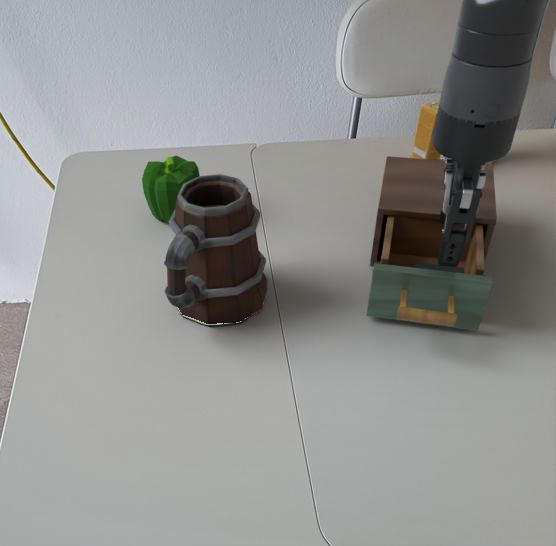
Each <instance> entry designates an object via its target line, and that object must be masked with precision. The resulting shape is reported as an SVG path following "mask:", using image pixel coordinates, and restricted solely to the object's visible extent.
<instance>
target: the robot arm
mask: <svg viewBox="0 0 556 546" xmlns="http://www.w3.org/2000/svg"><path fill="white" fill-rule="evenodd" d="M550 1H551V0H461V3H460V8H459V13H458V20H457V24H456V29H455V34H454V38H453V39H454V40H453V44H452V51H451V54H450V59H449V62H448V64H447V66H446V70H445V73H444V78H443V83H442V88H441V92H440V99H439V101H440V103H439V108H438V114H437V119H436V124H435V130H434V135H433V146H434V148H435V149H436V151H437V152H439V153H440V154H441V156H442V157H444V158H445V160H444V161H445V165H444V175H443V182H442V184H443V185H444V186H443V189H444V197H443V202H442V207H441V212H440V216H439V222H440V223H441V224H444V229H442V234H443V237H442V242H441V246H440V251H439V255H438V264H439V265H440V266H448V267H456V266H458V265H459V262H460V258H461V254H462V250H463V246H464V244H469V241H471V233H472V229H473V225H474V221H475V217H476V214H477V212H478V206H479V201H480V198H482V193H481V191H482V188H483V187H484V185H485V180H486V172H484V169H485V163H488V162H491V161H493V162H496V161H499V160H501V159H503V158H505V157H506V156H507V155H508V153H509V152H510V151H511V149H512V146H513V141H514V138H515V134H516V131H517V128H518V124H519V120H520V118H521V117H520V116H521V113H522V109H523V107H524V102H525V99H526V95H527V91H528V88H529V84H530V77H531V70H532V63H533V60H534V59H533V58H534V55H535V51H536V48H537V45H538V41H539V37H540V33H541V30H542V26H543V22H544V19H545V15H546V12H547V9H548V7H549V4H550ZM458 223H463V224H464V227H454V226H452V225H456V224H458Z"/></svg>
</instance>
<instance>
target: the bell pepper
mask: <svg viewBox="0 0 556 546" xmlns="http://www.w3.org/2000/svg"><path fill="white" fill-rule="evenodd" d="M199 176H201V175H200V168H199V166H198V165H197V163H196V161H195V160H194V161H193V160H187V159H184V158H183V157H180V156H179V155H173V156H168V157H166V158H165V160H164V161H160V160H159V161H158V160H157V161H147V164H146V165H145V168H144V171H143V174H142V177H141V184H142V190H143V196H144V198H145V200H146V203H147V205H148V208H149V210H150V213H151V214H152V216H153V217H154V218H155V219H157V220H159V221H164V223H166V224H169V220H170V218H171V216H172V214H173V212H174V210H175V206H176V199H177V198H178V194H179V192H180V190H181V188H182V186H183V184H184V183H187V182H189V181H191V180H193V179H195V178H197V177H199Z"/></svg>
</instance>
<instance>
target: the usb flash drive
mask: <svg viewBox="0 0 556 546" xmlns="http://www.w3.org/2000/svg"><path fill="white" fill-rule="evenodd" d="M414 268H421V269H430V270H439V271H447V272H456V273H464V267H448V266H440V265H437V264H428V263H419V262H415V265H414Z"/></svg>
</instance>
